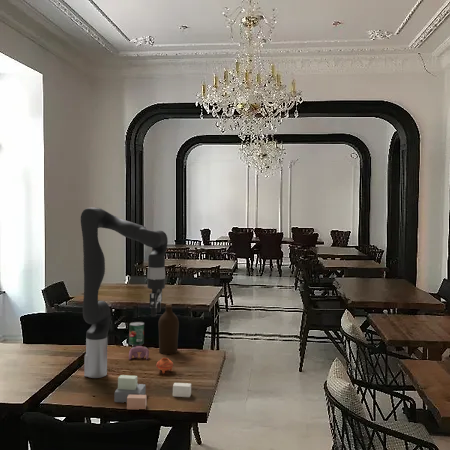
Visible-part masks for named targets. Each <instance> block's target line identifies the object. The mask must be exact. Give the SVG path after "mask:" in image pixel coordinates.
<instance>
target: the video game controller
mask: <svg viewBox="0 0 450 450" xmlns="http://www.w3.org/2000/svg"><path fill="white" fill-rule="evenodd" d="M139 353H140V354H139ZM149 356H150V350H149V349H148V348H147V347H146V346H142V345H135V346H132V347H131V348H130V349H129V352H128V360H132V358H134V359H137V358H138V357H140V358H141V359H144V358H145V360H148V359H149Z"/></svg>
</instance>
